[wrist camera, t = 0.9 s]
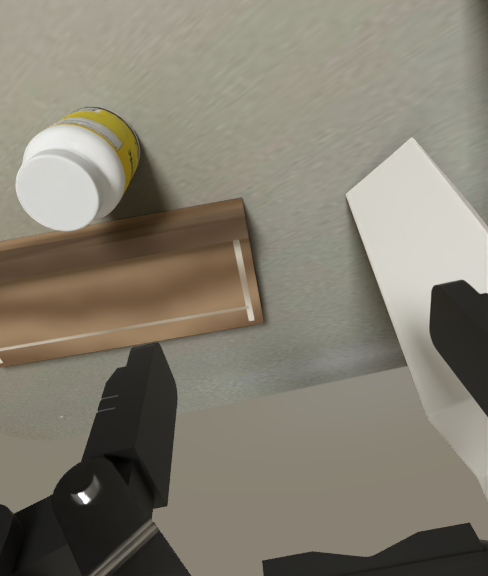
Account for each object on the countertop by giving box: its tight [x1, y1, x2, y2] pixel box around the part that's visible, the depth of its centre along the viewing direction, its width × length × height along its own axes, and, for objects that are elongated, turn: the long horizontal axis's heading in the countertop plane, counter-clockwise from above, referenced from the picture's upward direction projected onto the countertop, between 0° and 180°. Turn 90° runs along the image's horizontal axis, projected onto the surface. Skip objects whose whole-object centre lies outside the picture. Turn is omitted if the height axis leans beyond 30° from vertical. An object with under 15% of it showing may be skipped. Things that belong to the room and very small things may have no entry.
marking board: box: [0, 198, 264, 367], centre depth 32 cm, size 11×26×4 cm, turn 99°
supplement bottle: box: [16, 106, 140, 231], centre depth 24 cm, size 5×5×10 cm
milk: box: [346, 138, 488, 502], centre depth 22 cm, size 6×6×22 cm
